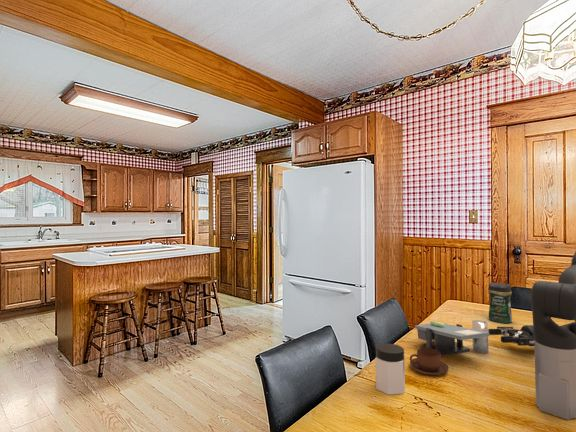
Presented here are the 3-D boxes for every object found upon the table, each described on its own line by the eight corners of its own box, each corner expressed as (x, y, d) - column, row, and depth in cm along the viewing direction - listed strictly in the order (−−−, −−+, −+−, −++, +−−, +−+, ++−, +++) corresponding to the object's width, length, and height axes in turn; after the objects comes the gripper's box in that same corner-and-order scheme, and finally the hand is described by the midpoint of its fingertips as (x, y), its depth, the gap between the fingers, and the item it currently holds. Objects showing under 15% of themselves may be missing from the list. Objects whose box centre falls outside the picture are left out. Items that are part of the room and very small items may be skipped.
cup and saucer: (425, 380, 107) (424, 361, 107) (402, 365, 118) (402, 347, 119) (457, 375, 110) (456, 356, 110) (432, 361, 122) (431, 343, 122)
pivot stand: (420, 349, 132) (419, 325, 133) (454, 344, 137) (453, 321, 137) (434, 356, 125) (434, 332, 125) (470, 351, 129) (469, 327, 129)
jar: (399, 380, 107) (398, 342, 107) (411, 393, 99) (410, 352, 99) (371, 382, 106) (370, 343, 106) (381, 396, 98) (380, 354, 98)
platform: (416, 338, 138) (414, 321, 139) (440, 335, 141) (438, 318, 142) (463, 352, 114) (460, 331, 115) (491, 348, 118) (488, 327, 119)
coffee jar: (486, 320, 167) (485, 282, 167) (492, 317, 172) (491, 280, 173) (509, 325, 160) (508, 285, 160) (514, 321, 165) (513, 283, 166)
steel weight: (485, 354, 126) (484, 325, 126) (470, 351, 130) (469, 322, 130) (490, 351, 129) (489, 322, 129) (475, 347, 133) (475, 319, 133)
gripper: (526, 320, 135) (484, 320, 136) (552, 331, 121) (505, 331, 122) (527, 339, 135) (485, 338, 136) (553, 353, 121) (506, 352, 122)
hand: (494, 335), depth 129 cm, fingers open, 8 cm apart
